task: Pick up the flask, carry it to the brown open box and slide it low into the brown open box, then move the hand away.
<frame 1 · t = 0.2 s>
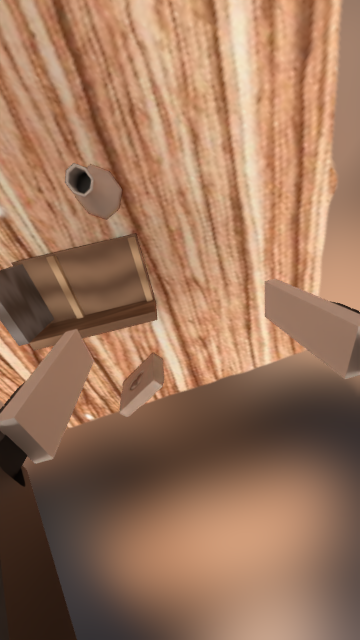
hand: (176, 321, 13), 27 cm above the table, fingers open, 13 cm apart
fossil: (142, 370, 49), on the table
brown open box: (92, 284, 38), on the table
flask: (99, 193, 32), on the table
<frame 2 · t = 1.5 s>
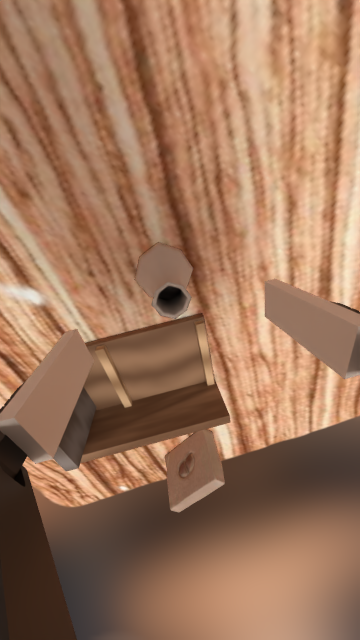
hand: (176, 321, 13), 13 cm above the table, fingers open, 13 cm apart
fossil: (188, 442, 43), on the table
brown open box: (143, 367, 31), on the table
flask: (163, 273, 25), on the table
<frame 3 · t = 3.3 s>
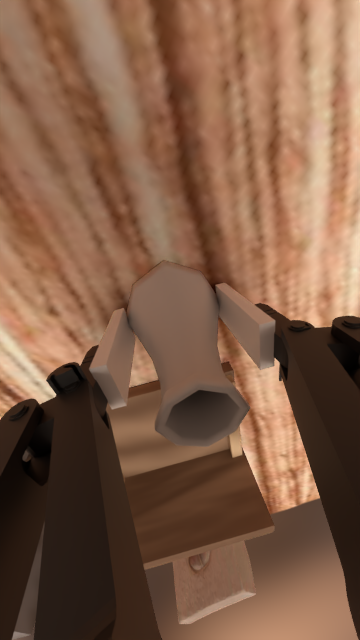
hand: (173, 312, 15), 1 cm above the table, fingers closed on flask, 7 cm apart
fossil: (199, 509, 33), on the table
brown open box: (140, 433, 22), on the table
flask: (172, 307, 16), on the table, touching gripper
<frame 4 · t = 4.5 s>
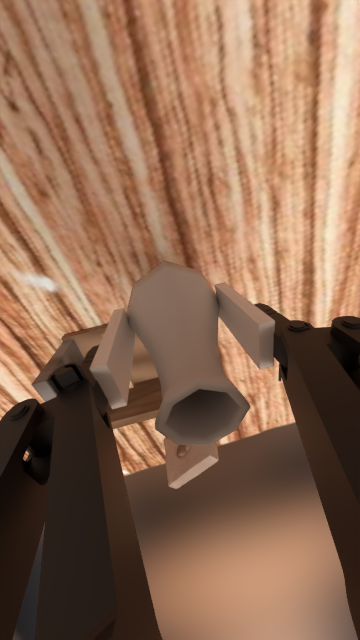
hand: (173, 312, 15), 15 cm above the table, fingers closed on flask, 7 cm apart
fossil: (185, 427, 46), on the table
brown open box: (144, 351, 34), on the table
flask: (172, 307, 16), point 14 cm above the table, touching gripper
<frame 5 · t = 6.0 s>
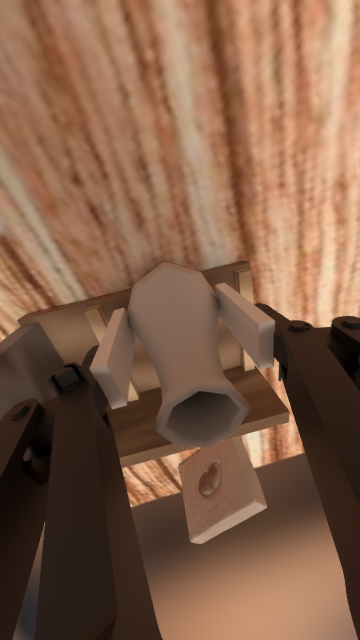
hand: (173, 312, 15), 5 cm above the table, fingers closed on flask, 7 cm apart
fossil: (208, 448, 33), on the table
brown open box: (155, 344, 22), on the table
flask: (172, 307, 16), point 4 cm above the table, touching gripper
when the fingers open (3 cm above the table, at t = 8.2 s): flask stays where it is, resting on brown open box.
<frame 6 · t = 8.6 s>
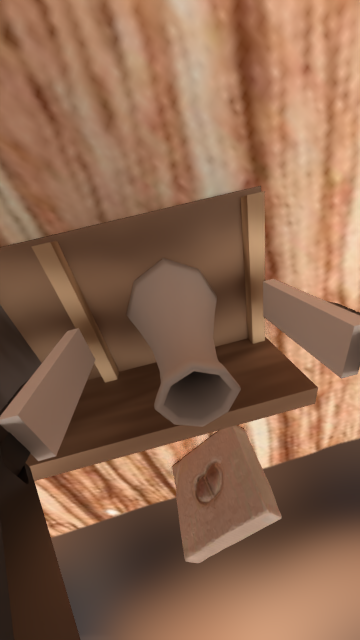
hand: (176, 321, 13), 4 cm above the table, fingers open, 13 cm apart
fossil: (207, 446, 28), on the table
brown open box: (138, 308, 17), on the table
flask: (171, 303, 16), point 1 cm above the table, touching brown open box
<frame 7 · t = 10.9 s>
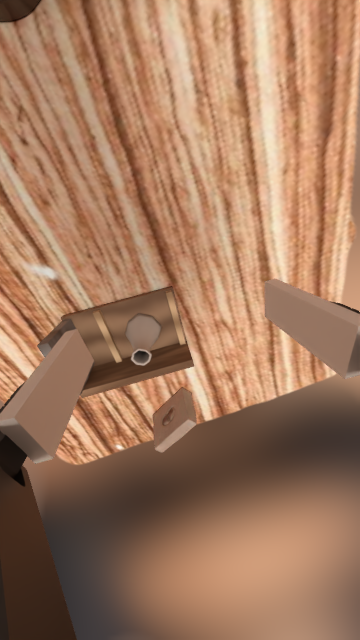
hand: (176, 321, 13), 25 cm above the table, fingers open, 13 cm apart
fossil: (171, 402, 51), on the table
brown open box: (130, 330, 41), on the table
flask: (143, 328, 40), point 1 cm above the table, touching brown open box
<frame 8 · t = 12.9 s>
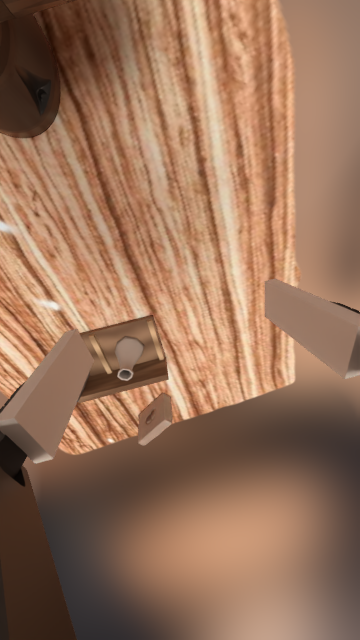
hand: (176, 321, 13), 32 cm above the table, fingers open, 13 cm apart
fossil: (154, 404, 62), on the table
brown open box: (119, 348, 50), on the table
flask: (129, 347, 49), point 1 cm above the table, touching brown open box
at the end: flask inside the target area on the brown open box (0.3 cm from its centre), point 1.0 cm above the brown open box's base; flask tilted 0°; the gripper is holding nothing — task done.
